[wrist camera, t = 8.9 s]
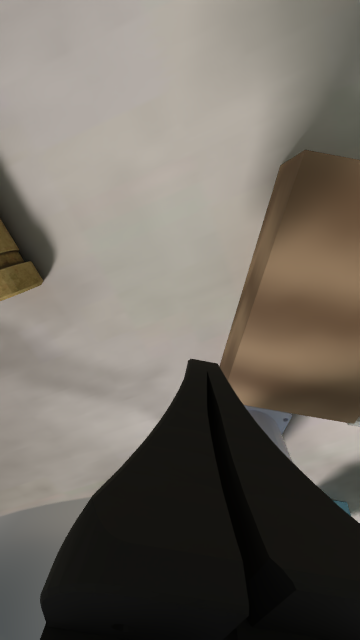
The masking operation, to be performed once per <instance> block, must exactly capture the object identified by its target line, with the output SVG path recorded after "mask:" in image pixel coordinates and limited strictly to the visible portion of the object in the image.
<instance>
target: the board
mask: <svg viewBox="0 0 360 640" xmlns="http://www.w3.org/2000/svg"><path fill="white" fill-rule="evenodd" d="M220 368H221V370H222V372H223V373H224V375H225V377H226V378H227V380H228V382H229V383H230V385H231V387H232V388H233V390H234V391H235V393H236V394H237V396H238V397H239V399H240V400H241V402H242V403H243V405H247V406H253V407H258V408H264V409H270V410H276V411H282V412H287V413H293V414H299V415H305V416H311V417H316V418H322V419H328V420H334V421H340V422H346V423H351V424H354V423H355V422H356V420H357V419H358V418H359V416H360V160H357V159H351V158H346V157H341V156H335V155H330V154H325V153H319V152H314V151H309V150H304V151H303V152H301V153H299V154H298V155H296V156H295V157H293V158H292V159H290V160H288V161H287V162H285V163H284V164H282V165H280V168H279V172H278V175H277V178H276V182H275V185H274V188H273V192H272V195H271V198H270V201H269V205H268V208H267V211H266V215H265V218H264V221H263V225H262V228H261V231H260V235H259V238H258V241H257V244H256V248H255V251H254V254H253V258H252V261H251V264H250V268H249V271H248V274H247V277H246V281H245V284H244V287H243V291H242V294H241V297H240V301H239V304H238V307H237V311H236V314H235V317H234V320H233V324H232V327H231V330H230V334H229V337H228V340H227V344H226V347H225V350H224V353H223V357H222V360H221V363H220Z"/></svg>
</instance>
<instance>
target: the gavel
mask: <svg viewBox="0 0 360 640" xmlns="http://www.w3.org/2000/svg"><path fill="white" fill-rule="evenodd" d="M18 252H19V249H18V247H17V245H16V244H15V242H14V240H13V239H12V237H11V236H10V234H9V232H8V231H7V229H6V227H5V226H4V224H3V223H2V221H1V219H0V301H2V300H5V299H7V298H10V297H12V296H15V295H18V294H20V293H23V292H25V291H28V290H30V289H32V288H35V287H37V286H39V285H41V284H42V283H43V280H42V278H41V277H40V275H39V273H38V272H37V270H36V268H35V267H34V265H33V263H32V262H24V261H23V259H22V257H21V256H20V254H19V253H18Z"/></svg>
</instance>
